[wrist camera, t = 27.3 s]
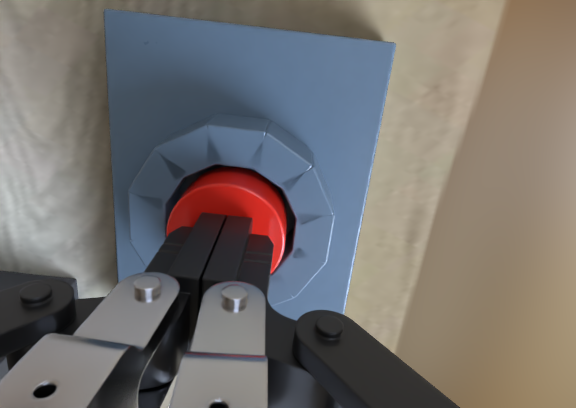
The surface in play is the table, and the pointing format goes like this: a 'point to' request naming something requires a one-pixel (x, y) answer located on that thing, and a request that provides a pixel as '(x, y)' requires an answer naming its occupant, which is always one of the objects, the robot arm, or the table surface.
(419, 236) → the table surface
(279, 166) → the pad
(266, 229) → the button
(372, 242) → the table surface
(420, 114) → the table surface
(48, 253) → the table surface
